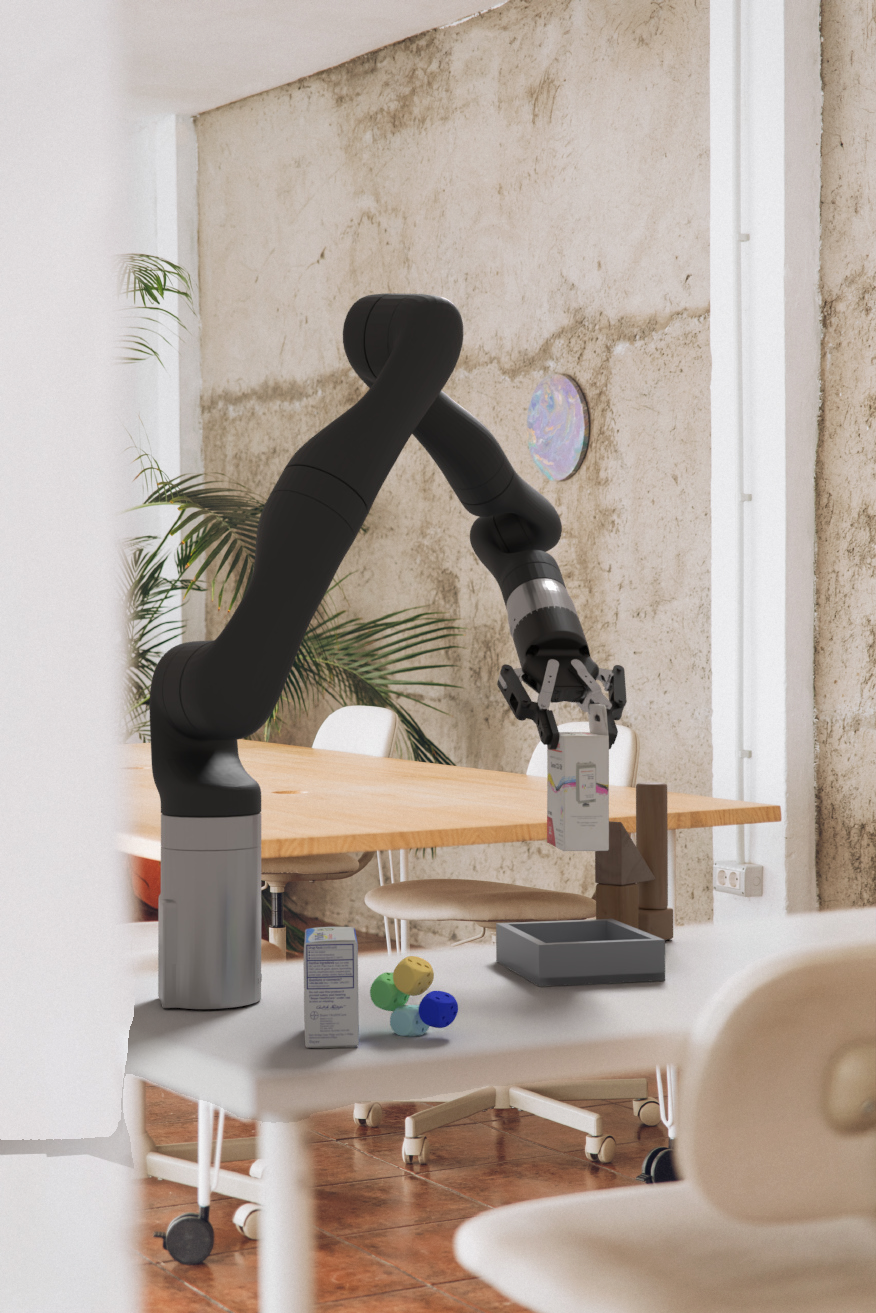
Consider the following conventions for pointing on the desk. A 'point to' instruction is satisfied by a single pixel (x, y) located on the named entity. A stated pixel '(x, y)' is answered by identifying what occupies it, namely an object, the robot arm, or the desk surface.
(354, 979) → the medicine box
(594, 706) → the ink cartridge box
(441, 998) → the dice
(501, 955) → the box
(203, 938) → the robot arm
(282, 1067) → the desk surface
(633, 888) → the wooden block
